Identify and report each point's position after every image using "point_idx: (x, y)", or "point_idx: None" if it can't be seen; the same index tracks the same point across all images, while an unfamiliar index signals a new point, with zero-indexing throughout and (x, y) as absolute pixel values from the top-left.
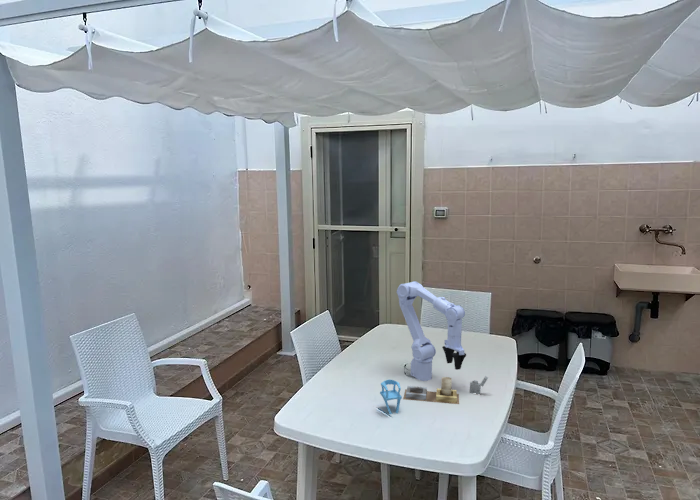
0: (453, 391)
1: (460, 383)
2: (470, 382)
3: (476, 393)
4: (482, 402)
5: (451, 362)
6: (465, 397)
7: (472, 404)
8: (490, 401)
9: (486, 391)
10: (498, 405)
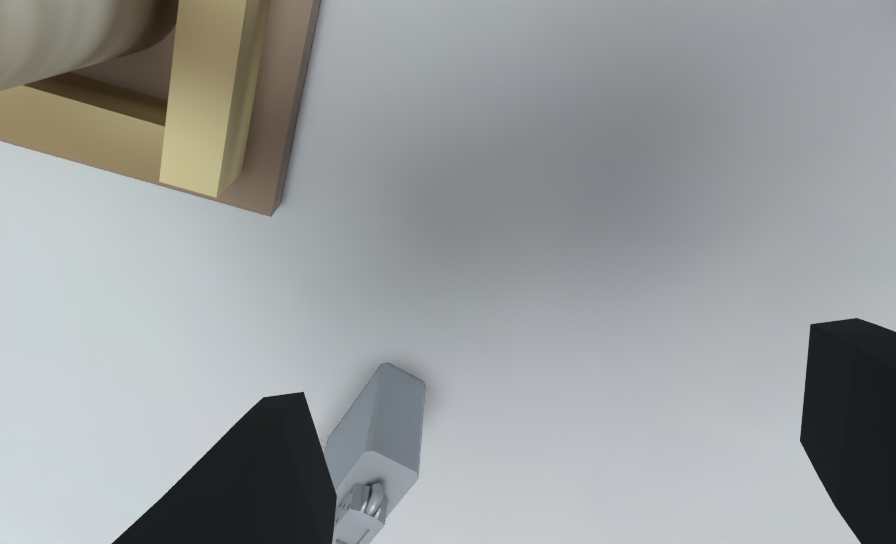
0: (147, 127)
1: (688, 345)
2: (390, 460)
3: (342, 424)
4: (117, 409)
5: (811, 437)
6: (244, 274)
7: (40, 292)
8: (155, 485)
9: (413, 525)
10: (66, 519)
